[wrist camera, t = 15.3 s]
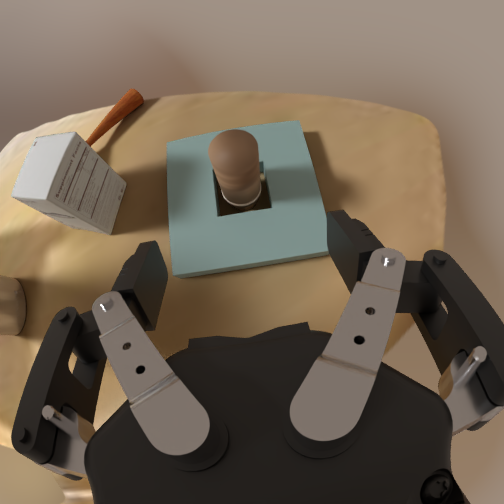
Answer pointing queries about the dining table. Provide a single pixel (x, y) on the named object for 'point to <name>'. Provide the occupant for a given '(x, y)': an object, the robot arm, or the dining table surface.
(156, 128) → the dining table surface
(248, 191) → the peg
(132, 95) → the kendama
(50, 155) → the supplement box
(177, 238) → the board
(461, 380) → the robot arm
